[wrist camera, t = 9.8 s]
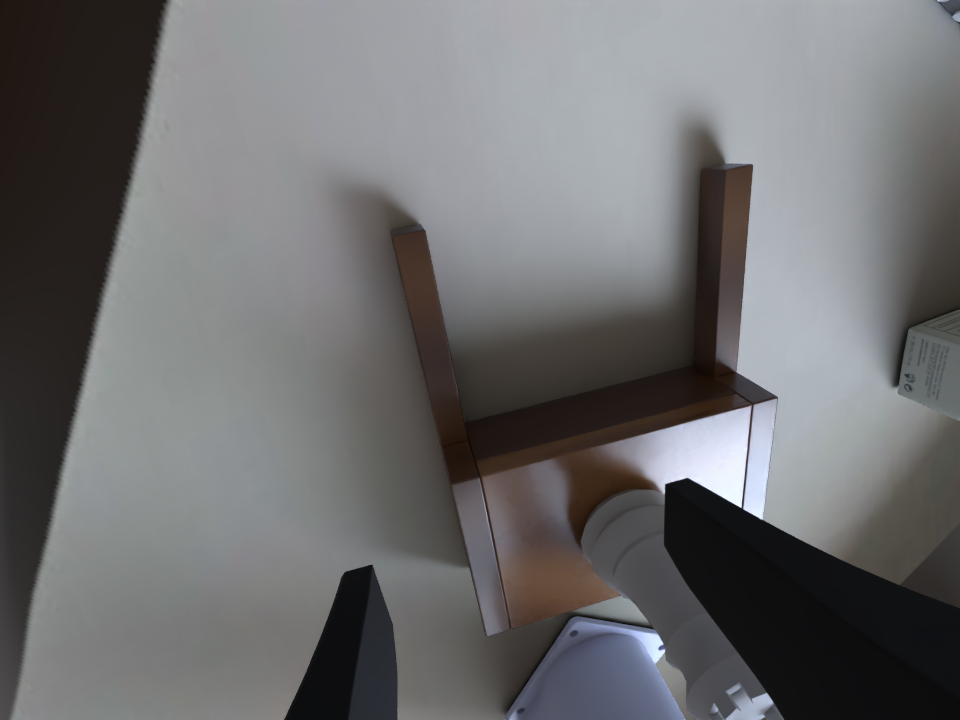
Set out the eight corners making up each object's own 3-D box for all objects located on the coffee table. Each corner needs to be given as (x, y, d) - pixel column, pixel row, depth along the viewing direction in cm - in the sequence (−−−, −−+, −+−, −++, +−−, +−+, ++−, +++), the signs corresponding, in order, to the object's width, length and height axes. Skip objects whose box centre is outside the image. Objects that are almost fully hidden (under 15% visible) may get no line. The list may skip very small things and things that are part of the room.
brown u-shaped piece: (389, 229, 18) (394, 248, 14) (727, 163, 19) (807, 165, 16) (469, 569, 25) (485, 637, 22) (707, 500, 27) (759, 553, 23)
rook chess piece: (631, 464, 19) (783, 645, 12) (689, 512, 21) (851, 695, 14) (555, 536, 20) (656, 748, 13) (618, 576, 22) (737, 782, 15)
